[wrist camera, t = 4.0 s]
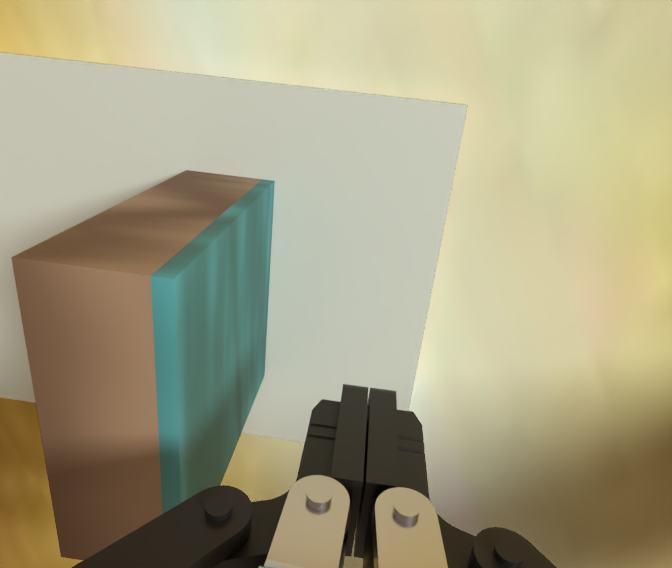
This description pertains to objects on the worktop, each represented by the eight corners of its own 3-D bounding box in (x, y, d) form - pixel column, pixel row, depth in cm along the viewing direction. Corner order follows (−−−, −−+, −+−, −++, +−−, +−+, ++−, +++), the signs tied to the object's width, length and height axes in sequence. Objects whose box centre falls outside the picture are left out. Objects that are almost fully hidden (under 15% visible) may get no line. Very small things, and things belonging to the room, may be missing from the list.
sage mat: (465, 104, 18) (467, 105, 18) (399, 449, 25) (399, 456, 24) (-134, 36, 19) (-147, 36, 19) (-50, 383, 26) (-58, 389, 25)
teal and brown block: (274, 180, 20) (174, 278, 10) (264, 375, 23) (183, 576, 14) (186, 170, 20) (11, 257, 11) (189, 365, 23) (61, 556, 14)
